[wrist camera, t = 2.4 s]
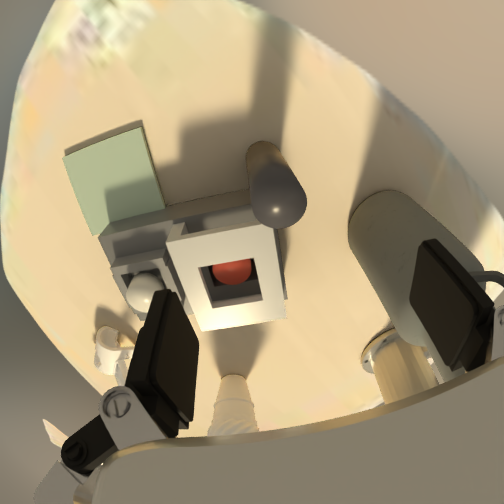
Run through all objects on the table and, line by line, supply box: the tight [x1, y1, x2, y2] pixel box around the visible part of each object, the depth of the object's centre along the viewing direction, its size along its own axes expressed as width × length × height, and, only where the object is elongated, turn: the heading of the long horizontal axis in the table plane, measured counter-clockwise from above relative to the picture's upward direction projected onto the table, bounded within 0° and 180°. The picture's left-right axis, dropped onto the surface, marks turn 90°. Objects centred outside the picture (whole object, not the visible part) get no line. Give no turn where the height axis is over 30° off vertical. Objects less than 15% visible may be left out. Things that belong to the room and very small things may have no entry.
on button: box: [126, 273, 164, 313], centre depth 28 cm, size 4×4×2 cm
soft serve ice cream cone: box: [207, 374, 259, 436], centre depth 41 cm, size 8×8×16 cm
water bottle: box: [348, 191, 504, 382], centre depth 20 cm, size 10×10×28 cm
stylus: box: [246, 141, 307, 229], centre depth 23 cm, size 3×3×12 cm
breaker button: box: [212, 258, 251, 285], centre depth 30 cm, size 4×4×3 cm
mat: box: [62, 127, 166, 236], centre depth 28 cm, size 10×10×1 cm
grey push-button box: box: [98, 189, 288, 331], centre depth 30 cm, size 18×12×7 cm, turn 100°
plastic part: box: [94, 326, 135, 386], centre depth 37 cm, size 8×10×12 cm
